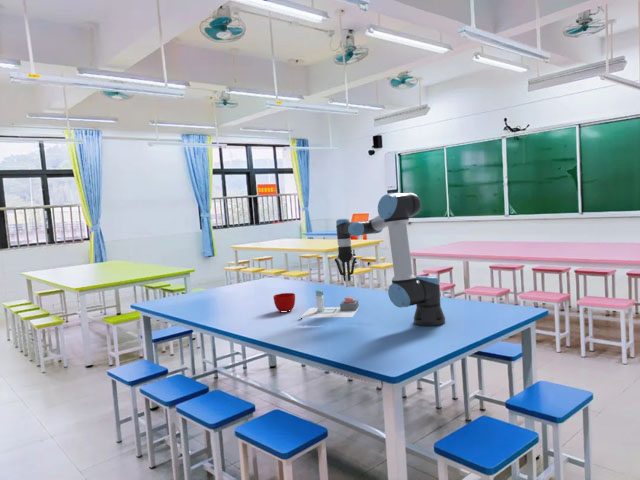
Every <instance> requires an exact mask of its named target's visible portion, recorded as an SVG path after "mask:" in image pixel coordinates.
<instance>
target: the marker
mask: <svg viewBox="0 0 640 480" xmlns="http://www.w3.org/2000/svg"><path fill="white" fill-rule="evenodd" d="M315 297H316V298H315V300H316V308H317V312H324V308H325V303H324V302H325V301H324V290H322V289H316V290H315Z"/></svg>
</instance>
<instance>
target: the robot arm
mask: <svg viewBox="0 0 640 480" xmlns="http://www.w3.org/2000/svg"><path fill="white" fill-rule="evenodd" d="M421 209H422V200H421V198H420V197H419V196H418V195H417V194H416V193H413V192H397V193H396V192H393V193H387V194H384V195H383V196H381V198H380V200H378V204H377V213H378V215H377V216H376V217H373V218H372V219H370V220H361V221H352V222H350V219H349V218H340V219H337V220H336V224H335V225H336V227H335V228H336V237H337V240H336V241H337V246H338V247H337V249H338V250H337V252H338V254H337V257H335V258H334V262H335V263H336V266H337V269H338V272H339V275H341V276H342V277H343V281H344V282H345V288H349V287H350V282H351V279H352V278H351V275H353V274H354V272H355V265H356V261H357V259H358V258H357V257H356V256H354V255H353V253H352V246H351V245H352V241H351V237H360V236H362V235H363V236H365V235H372V234H374V235H375V234H379V233H382V231H383V229H385V228H387V227H388V235H389V236H388V237H389V244H390V245H389V246H390V252H391V259H392V266H393V267H392V268H393V277H392V279H391V284H390V285H388V289H387V294H388V297H389V300H390V302H391V303H392V304H393V305H394V306H395V307H397V308H408V307H411V306H416V308H415V312H414V315H413V324H415V325H417V326H421V327H435V326H436V327H437V326H441V325H444V324H445V323H446V317H445V314H444V311H443V308H442V306H441V291H440V290H441V288H440V286H441V285H440V280H439V278H438V277H437V276H433V275H432V276H431V275H414V273H413V269H412V259H411V253H410V252H411V251H410V245H409V244H410V243H409V237H408V228H407V223H409V221H410V218H412V217H414V216H416V215H418V214H419V213H420V212H421ZM351 260H352V263H350V261H351ZM340 262H341V264H340ZM346 271H347V272H346Z"/></svg>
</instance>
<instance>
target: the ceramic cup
mask: <svg viewBox="0 0 640 480" xmlns="http://www.w3.org/2000/svg"><path fill="white" fill-rule="evenodd" d="M273 303H274V306H275V307H276V310H277V311H278V312H280V311H289V310H291V311H292V310H293V308H294V307H295V304H296V294H295V293H293V292H283V293H277V294H275V295H273Z"/></svg>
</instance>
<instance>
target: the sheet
mask: <svg viewBox="0 0 640 480" xmlns="http://www.w3.org/2000/svg"><path fill="white" fill-rule="evenodd" d="M359 309H360V306H359V307H358V309H357V310H356V311H341V310H340V306H335V307H332V306H331V307H324V312H317V307H310V308H308V309H307V310H306V311H305V312H304V313H303V314H302V315H300V316H299V317H298V319H299V318H304V319H310V318H311V319H312V318H313V319H315V318H319V319H321V318H323V319H324V318H354V316H355V314H356V313H357V311H358V310H359Z"/></svg>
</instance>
